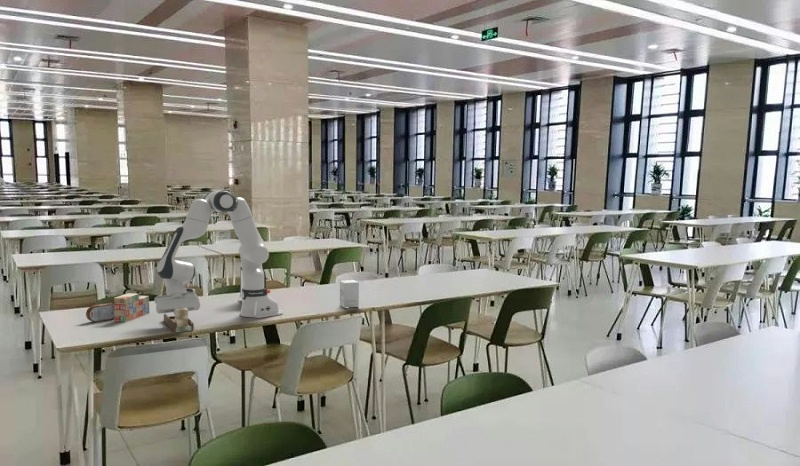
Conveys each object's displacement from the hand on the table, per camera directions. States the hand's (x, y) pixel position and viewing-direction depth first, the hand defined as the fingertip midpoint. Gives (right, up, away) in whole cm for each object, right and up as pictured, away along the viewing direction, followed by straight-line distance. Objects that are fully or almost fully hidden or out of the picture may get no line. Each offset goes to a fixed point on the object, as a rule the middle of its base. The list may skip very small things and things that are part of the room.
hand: (180, 318), depth 289 cm
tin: (-43, -3, +12) cm, 45 cm away
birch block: (+1, -3, -3) cm, 4 cm away
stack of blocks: (-32, -3, +20) cm, 38 cm away
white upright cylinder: (+19, 0, +65) cm, 68 cm away
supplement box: (+76, -2, +58) cm, 96 cm away
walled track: (-3, -4, +5) cm, 8 cm away
